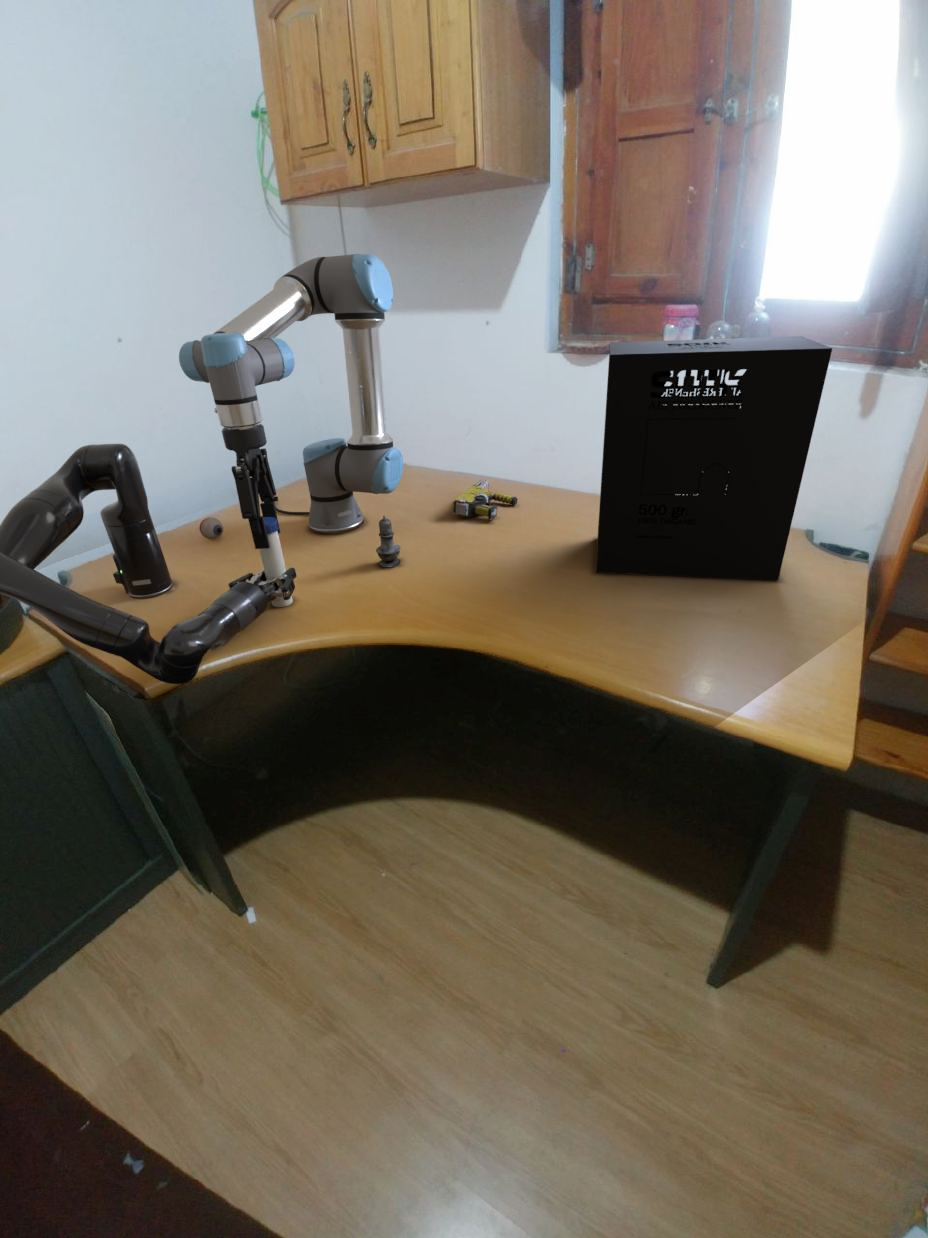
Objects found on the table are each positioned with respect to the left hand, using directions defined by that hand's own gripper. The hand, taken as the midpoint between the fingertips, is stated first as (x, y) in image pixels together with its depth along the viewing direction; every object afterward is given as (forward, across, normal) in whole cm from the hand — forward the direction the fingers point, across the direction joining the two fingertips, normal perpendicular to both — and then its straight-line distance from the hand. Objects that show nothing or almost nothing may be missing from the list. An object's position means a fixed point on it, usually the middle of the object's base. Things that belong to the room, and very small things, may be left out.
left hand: (283, 570), depth 129 cm
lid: (-3, 0, +12) cm, 12 cm away
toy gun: (+62, +30, -6) cm, 69 cm away
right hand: (-3, 0, +8) cm, 9 cm away
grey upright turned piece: (+20, +16, -6) cm, 26 cm away
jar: (-3, 0, -6) cm, 7 cm away
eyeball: (+27, -39, -6) cm, 47 cm away
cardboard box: (+34, +82, -6) cm, 90 cm away
